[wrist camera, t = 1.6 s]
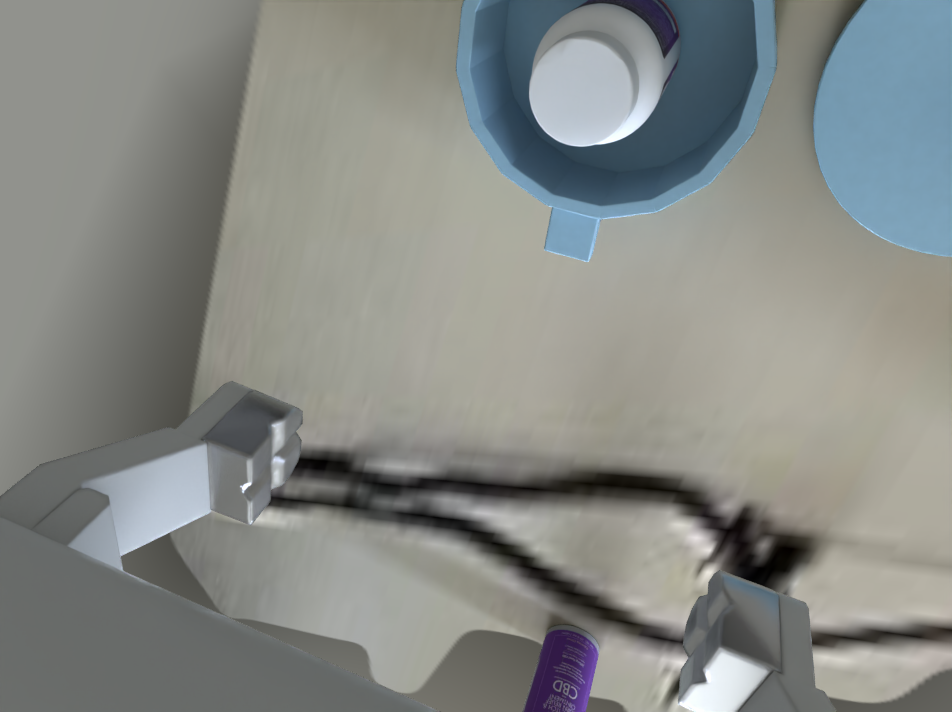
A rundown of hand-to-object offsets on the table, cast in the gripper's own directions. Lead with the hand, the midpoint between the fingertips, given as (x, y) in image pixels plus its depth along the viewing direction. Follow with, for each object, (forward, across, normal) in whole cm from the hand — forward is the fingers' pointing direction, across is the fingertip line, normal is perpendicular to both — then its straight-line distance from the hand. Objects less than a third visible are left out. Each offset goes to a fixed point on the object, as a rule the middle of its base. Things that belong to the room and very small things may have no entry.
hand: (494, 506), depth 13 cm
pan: (+28, +3, -3) cm, 28 cm away
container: (+28, -8, +44) cm, 52 cm away
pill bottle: (+28, +3, -3) cm, 28 cm away
